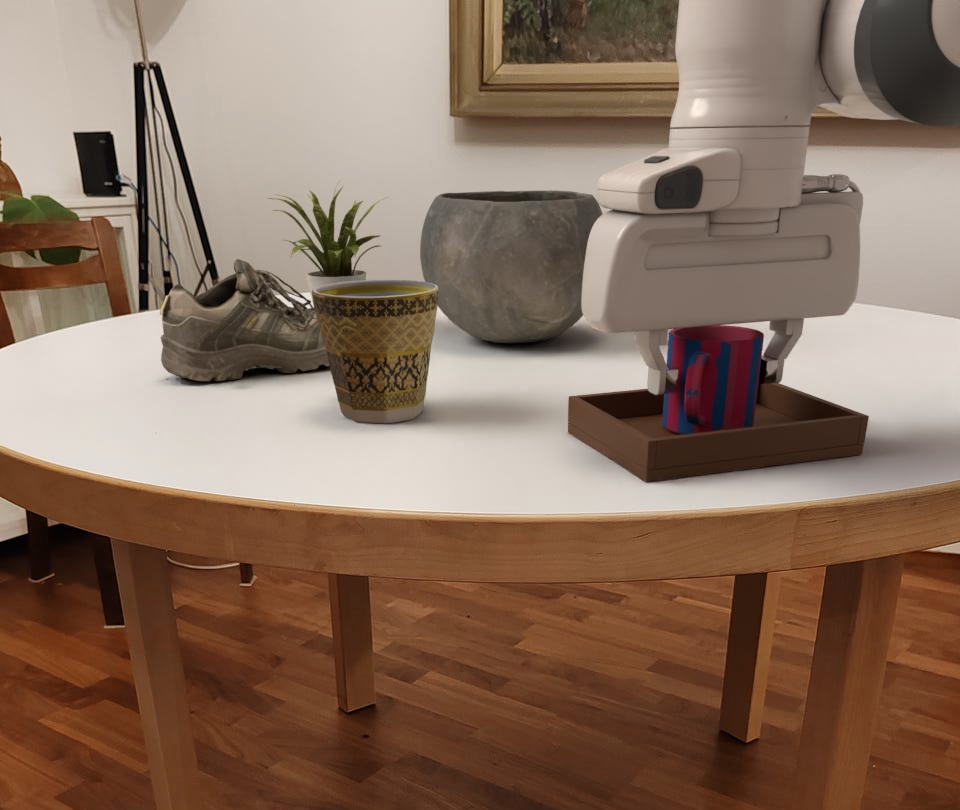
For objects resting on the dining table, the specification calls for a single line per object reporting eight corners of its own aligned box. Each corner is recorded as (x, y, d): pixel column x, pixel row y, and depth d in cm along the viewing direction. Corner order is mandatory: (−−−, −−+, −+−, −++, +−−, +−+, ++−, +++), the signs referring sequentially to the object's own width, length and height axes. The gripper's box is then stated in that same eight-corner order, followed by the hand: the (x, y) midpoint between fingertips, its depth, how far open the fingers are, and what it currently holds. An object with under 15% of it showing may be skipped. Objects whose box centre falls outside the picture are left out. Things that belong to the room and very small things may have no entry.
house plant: (246, 334, 116) (228, 182, 108) (308, 315, 127) (295, 176, 120) (352, 341, 111) (341, 182, 103) (407, 321, 122) (400, 176, 115)
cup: (764, 421, 75) (775, 328, 72) (722, 455, 67) (733, 353, 64) (680, 411, 78) (687, 322, 75) (631, 442, 70) (637, 344, 67)
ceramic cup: (464, 416, 81) (461, 289, 76) (354, 436, 76) (344, 301, 71) (391, 387, 91) (385, 272, 86) (290, 402, 86) (277, 282, 81)
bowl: (397, 353, 104) (389, 199, 98) (456, 321, 122) (453, 188, 115) (585, 362, 99) (591, 200, 92) (619, 327, 117) (626, 188, 110)
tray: (758, 411, 81) (763, 377, 80) (862, 454, 70) (869, 415, 69) (567, 432, 76) (568, 396, 75) (645, 482, 65) (648, 440, 64)
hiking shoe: (390, 342, 98) (345, 227, 97) (191, 395, 89) (139, 268, 88) (360, 374, 106) (318, 268, 105) (175, 425, 97) (127, 310, 96)
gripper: (837, 171, 70) (810, 367, 77) (575, 179, 65) (569, 390, 71) (896, 174, 65) (862, 384, 71) (617, 183, 59) (606, 410, 66)
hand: (714, 387), depth 71 cm, fingers closed on cup, 7 cm apart
